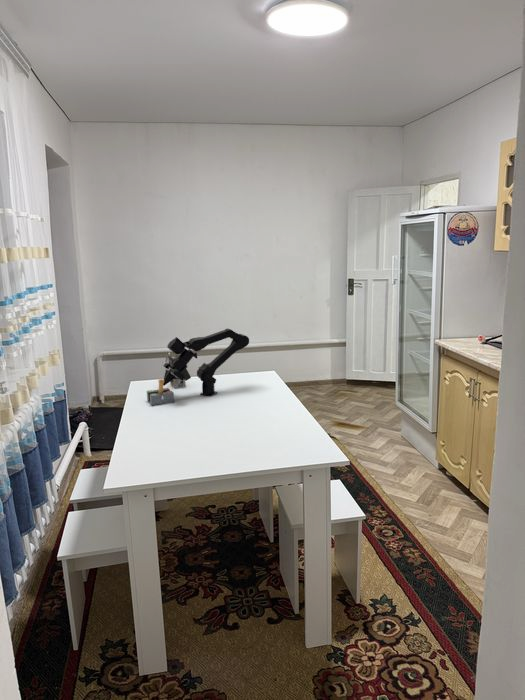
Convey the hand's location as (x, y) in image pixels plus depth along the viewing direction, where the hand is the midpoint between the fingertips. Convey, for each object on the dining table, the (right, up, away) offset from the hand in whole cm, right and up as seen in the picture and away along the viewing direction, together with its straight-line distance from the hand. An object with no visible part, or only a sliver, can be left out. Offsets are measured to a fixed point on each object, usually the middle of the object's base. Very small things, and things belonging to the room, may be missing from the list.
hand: (163, 385), depth 257 cm
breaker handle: (-1, -5, 0) cm, 6 cm away
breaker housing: (-1, -8, +1) cm, 8 cm away
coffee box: (+3, -3, +28) cm, 28 cm away
